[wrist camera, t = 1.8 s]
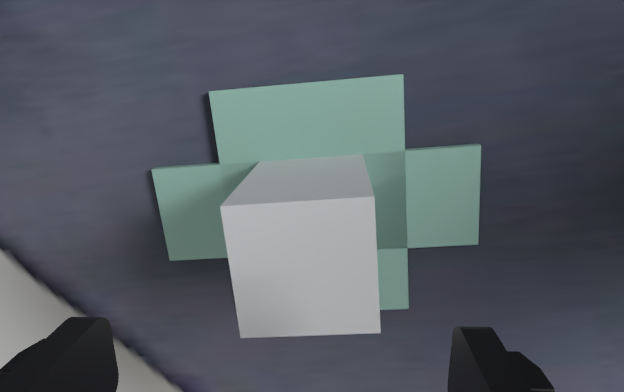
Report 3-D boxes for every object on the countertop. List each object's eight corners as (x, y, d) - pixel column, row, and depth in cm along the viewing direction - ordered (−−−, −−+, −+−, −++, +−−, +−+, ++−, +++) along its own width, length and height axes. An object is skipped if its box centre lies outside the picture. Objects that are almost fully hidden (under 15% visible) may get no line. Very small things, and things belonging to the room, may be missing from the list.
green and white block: (477, 67, 19) (566, 64, 12) (471, 298, 22) (537, 411, 15) (144, 96, 20) (32, 111, 13) (186, 310, 24) (116, 419, 16)
